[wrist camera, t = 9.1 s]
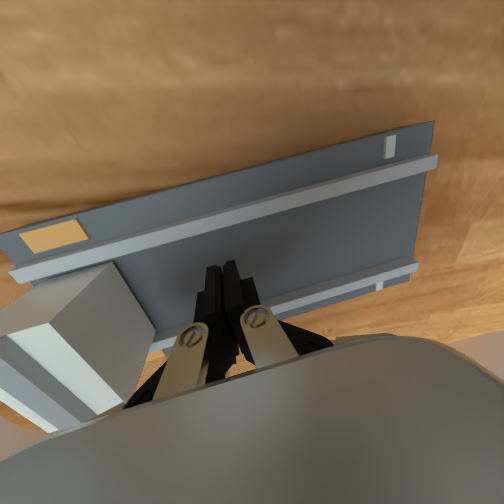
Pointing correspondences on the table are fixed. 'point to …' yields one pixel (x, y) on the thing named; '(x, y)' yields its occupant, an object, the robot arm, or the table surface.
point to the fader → (72, 347)
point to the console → (251, 231)
